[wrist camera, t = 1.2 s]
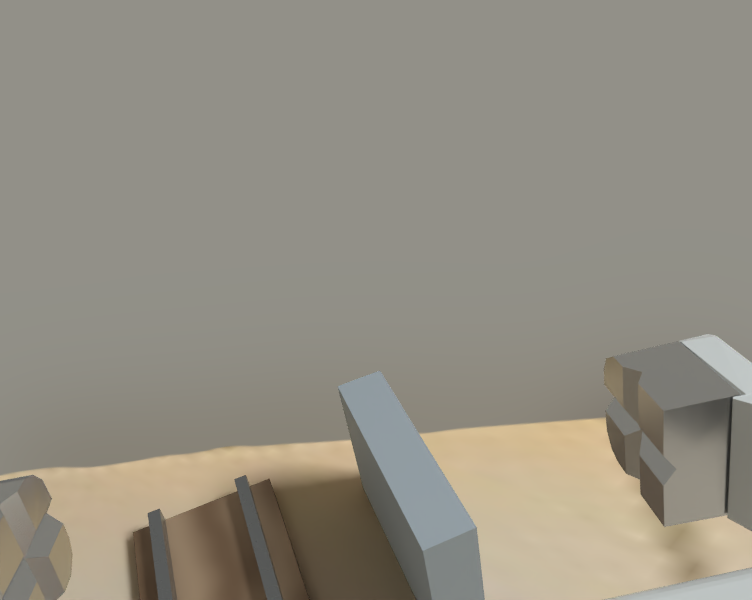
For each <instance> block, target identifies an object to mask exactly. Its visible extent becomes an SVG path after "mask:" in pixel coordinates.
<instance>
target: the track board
mask: <svg viewBox="0 0 752 600" xmlns="http://www.w3.org/2000/svg"><path fill="white" fill-rule="evenodd" d="M234 480H235V483H236V487H237V492H235V493H232V494H229V495H227V496H224V497H222V498H219V499H217V500H214V501H212V502H209V503H207V504H204V505H202V506H199V507H197V508H194V509H191V510H189V511H186V512H184V513H181V514H179V515H176V516H174V517H171V518H169V519H166V520H165V518H164V516H163V514H162V512H161V510H160V509H157V510H155V511H152V512H150V513H148V519H149V526H148V527H146V528H143V529H141V530H138V531H136V532H133V535H134V545H135V555H136V565H137V575H138V586H139V596H140V600H309V597H308V594H307V591H306V588H305V585H304V582H303V579H302V576H301V573H300V570H299V567H298V564H297V561H296V558H295V555H294V552H293V548H292V545H291V542H290V539H289V536H288V533H287V530H286V527H285V524H284V521H283V518H282V515H281V512H280V509H279V506H278V503H277V500H276V497H275V494H274V491H273V488H272V485H271V482H270V479H267V480H265V481H262V482H260V483H257V484H255V485H252V486H250V485H249V482H248V480H247V477H246V475H244V476H242V477H239V478H237V479H234Z"/></svg>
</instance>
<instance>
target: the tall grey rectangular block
mask: <svg viewBox="0 0 752 600" xmlns="http://www.w3.org/2000/svg"><path fill="white" fill-rule="evenodd" d="M338 390H339V394H340V398H341V402H342V405H343V410H344V414H345V417H346V421H347V425H348V429H349V433H350V437H351V441H352V445H353V449H354V453H355V457H356V461H357V465H358V469H359V473H360V477H361V481H362V485H363V488H364V491H365V493H366V495H367V497H368V499H369V501H370V503H371V505H372V507H373V510H374V512H375V514H376V516H377V518H378V520H379V522H380V524H381V526H382V529H383V531H384V533H385V535H386V537H387V539H388V541H389V543H390V545H391V548H392V550H393V552H394V554H395V556H396V558H397V560H398V562H399V564H400V567H401V569H402V571H403V573H404V575H405V577H406V579H407V581H408V583H409V585H410V588H411V590H412V592H413V594H414V596H415V598H416V600H485V599H484V590H483V581H482V572H481V563H480V554H479V545H478V536H477V527H476V526H475V524H474V522H473V521H472V519H471V518H470V516H469V514H468V513H467V511H466V509H465V508H464V506H463V505H462V503H461V501H460V500H459V498H458V496H457V495H456V493H455V492H454V490H453V488H452V487H451V485H450V483H449V482H448V480H447V479H446V477H445V475H444V474H443V472H442V471H441V469H440V467H439V466H438V464H437V462H436V461H435V459H434V458H433V456H432V454H431V453H430V451H429V449H428V448H427V446H426V445H425V443H424V441H423V440H422V438H421V436H420V435H419V433H418V432H417V430H416V428H415V427H414V425H413V424H412V422H411V420H410V419H409V417H408V416H407V414H406V412H405V411H404V409H403V407H402V406H401V404H400V403H399V401H398V399H397V398H396V396H395V394H394V393H393V391H392V389H391V388H390V386H389V385H388V383H387V381H386V380H385V378H384V377H383V375H382V373H381V372H380V371H378V372H375V373H372V374H370V375H367V376H364V377H362V378H359V379H356V380H354V381H351V382H348V383H346V384H343V385H340V386H338Z"/></svg>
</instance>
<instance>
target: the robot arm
mask: <svg viewBox="0 0 752 600" xmlns="http://www.w3.org/2000/svg"><path fill="white" fill-rule="evenodd" d="M604 385H605V386H606V387H607V388H608V389H609V391H610V392H611V393H612V394H613V396H614V398H613V400H612V401H611V403H610V405H609V406H608V408H607V409H606V423H607V432H608V436H609V440H610V443H611V447H612V450H613V452H614V454H615V456H616V458H617V461H618V462H619V464H620V465H621V467H622V468H623V470H624V471H625V473H626V474H628V475H631V476H633V477H635V478H638V479H640V489H641V495H642V497H643V498H644V499H645V501H646V502H647V504H648V505H649V506H650V508H651V509H652V510H653V512H654V513H655V515H656V516H657V517H658V519H659V520H660V521H661V523H662V524H663V526H664V527H665V526H671V525H676V524H681V523H687V522H692V521H698V520H703V519H708V518H714V517H719V516H725V515H728V518H729V519H730V520H732V521H734V522H736V523H738V524H740V525H741V526H743V527H745V528H747V529H749V530H751V531H752V363H751V362H750V361H748V360H747V359H746V358H744V357H743V356H742V355H741V354H739V353H738V352H737V351H735V350H734V349H733V348H731V347H730V346H729V345H728V344H726V343H725V342H724V341H722V340H721V339H720V338H718V337H717V336H714V335H710V334H705V335H701V336H697V337H693V338H689V339H685V340H681V341H677V342H673V343H669V344H665V345H660V346H656V347H652V348H647V349H643V350H639V351H634V352H630V353H626V354H621V355H617V356H613V357H609V358H606V361H605V366H604ZM51 500H52V498H51V496H50V494H49V492H48V490H47V488H46V486H45V484H44V482H43V480H42V479H40V478H38V477H36V476H34V475H30V476H24V477H19V478H14V479H8V480H3V481H0V600H57V599H58V598H59V597H60V596H61V595H62V594H63V593H64V592H65V590H66V588H67V585H68V582H69V580H70V577H71V570H72V549H71V544H70V539H69V536H68V534H67V532H66V529H65V527H64V525H63V523H61V522H60V521H58V520H56V519H55V518H53V517H52V516H50V515H48V514H47V510H48V508H49V505H50V502H51ZM604 600H752V568H747V569H742V570H738V571H733V572H729V573H724V574H719V575H715V576H710V577H706V578H701V579H696V580H692V581H687V582H682V583H678V584H673V585H669V586H664V587H659V588H655V589H650V590H646V591H641V592H636V593H632V594H627V595H623V596H618V597H613V598H609V599H604Z"/></svg>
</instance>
